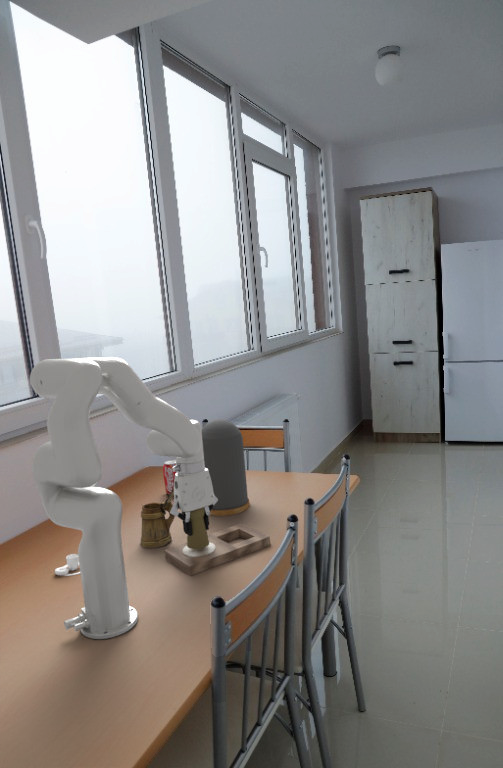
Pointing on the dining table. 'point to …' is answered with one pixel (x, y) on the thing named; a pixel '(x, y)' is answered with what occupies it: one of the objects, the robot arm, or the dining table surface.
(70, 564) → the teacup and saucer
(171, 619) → the dining table surface
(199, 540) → the cork
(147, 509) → the wooden mug
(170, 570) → the dining table surface
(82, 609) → the robot arm
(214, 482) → the decorative piece
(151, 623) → the dining table surface
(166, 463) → the soda can
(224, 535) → the caddy board
